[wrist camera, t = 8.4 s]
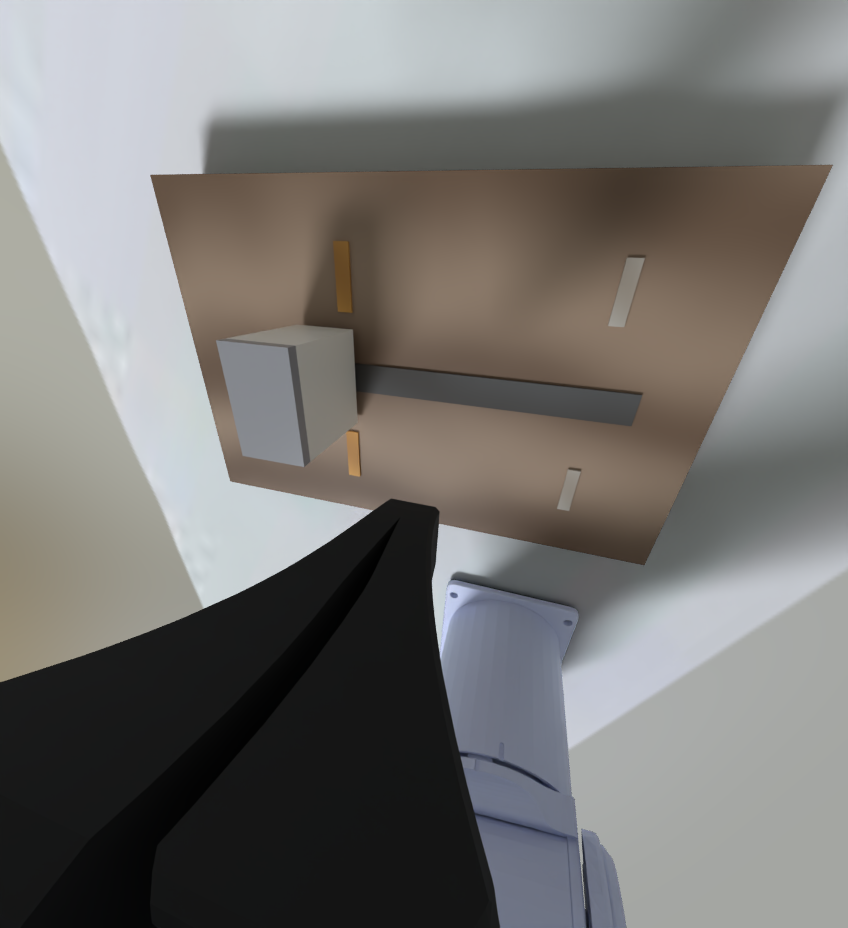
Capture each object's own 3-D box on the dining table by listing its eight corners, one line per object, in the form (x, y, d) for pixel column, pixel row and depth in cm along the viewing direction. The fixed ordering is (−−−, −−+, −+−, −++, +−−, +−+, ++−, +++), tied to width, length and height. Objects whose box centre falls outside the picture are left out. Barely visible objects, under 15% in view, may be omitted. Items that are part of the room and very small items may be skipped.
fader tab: (357, 422, 16) (304, 467, 12) (308, 415, 16) (242, 455, 13) (352, 329, 14) (287, 347, 10) (297, 324, 14) (215, 340, 11)
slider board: (630, 530, 18) (644, 566, 16) (258, 461, 22) (229, 482, 20) (774, 186, 11) (836, 163, 9) (202, 189, 16) (148, 174, 13)
